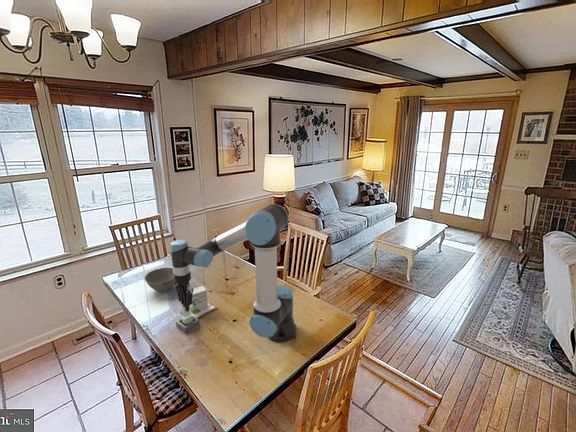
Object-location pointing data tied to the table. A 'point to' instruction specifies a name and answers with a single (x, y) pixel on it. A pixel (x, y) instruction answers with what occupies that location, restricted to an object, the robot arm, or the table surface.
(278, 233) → the robot arm
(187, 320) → the button
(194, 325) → the button housing
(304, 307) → the table surface
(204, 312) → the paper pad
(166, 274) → the bowl
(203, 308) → the ink box
